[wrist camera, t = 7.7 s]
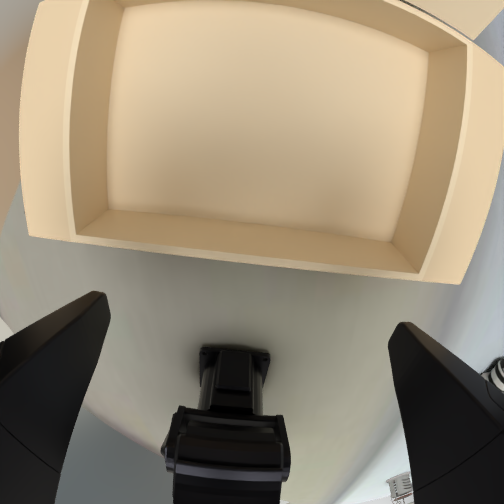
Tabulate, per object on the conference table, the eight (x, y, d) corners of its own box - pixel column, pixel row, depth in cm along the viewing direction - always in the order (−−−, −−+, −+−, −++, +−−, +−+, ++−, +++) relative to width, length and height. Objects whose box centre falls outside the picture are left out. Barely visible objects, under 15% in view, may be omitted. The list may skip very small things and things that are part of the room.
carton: (428, 252, 20) (459, 284, 15) (66, 209, 18) (29, 235, 14) (467, 72, 13) (509, 71, 8) (78, 16, 11) (39, 2, 7)
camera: (520, 352, 30) (542, 386, 21) (495, 382, 34) (514, 416, 25) (483, 359, 29) (509, 404, 20) (453, 394, 32) (473, 438, 24)
